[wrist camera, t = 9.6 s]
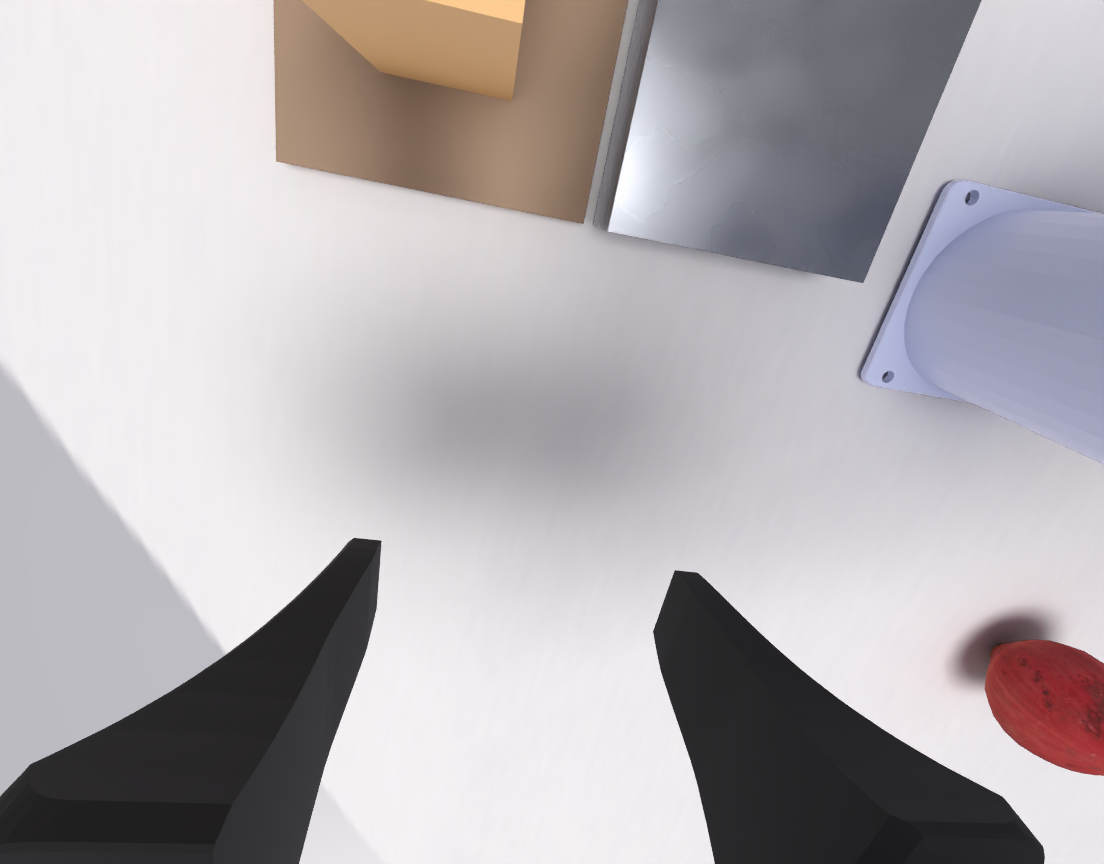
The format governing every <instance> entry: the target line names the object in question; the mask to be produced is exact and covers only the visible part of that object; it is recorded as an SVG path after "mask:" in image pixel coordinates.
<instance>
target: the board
mask: <svg viewBox="0 0 1104 864" xmlns="http://www.w3.org/2000/svg"><path fill="white" fill-rule="evenodd" d="M627 4H628V0H525V7H524V15H523V23H522V30H521V38H520V45H519V53H518V60H517V68H516V75H515V83H514V90H513V98H512V101H509V100H504V99H500V98H495V97H491V96H486V95H482V94H477V93H472V92H468V91H463V90H459V89H454V88H450V87H445V86H441V85H436V84H431V83H427V82H422V81H418V80H413V79H409V78H404V77H399V76H395V75H390V74H386V73H381V72H380V71H379V70H377V69H376V68H375V67H374V66H373V65H372V64H371V63H370V62H369V61H368V60H367V59H365V58H364V57H363V56H362V55H361V54H360V53H359V52H358V51H357V50H356V49H355V48H353V47H352V46H351V45H350V44H349V43H348V42H347V41H346V40H345V39H344V38H343V37H341V36H340V35H339V34H338V33H337V32H336V31H335V30H334V29H333V28H332V27H331V26H330V25H328V24H327V23H326V22H325V21H324V20H323V19H322V18H321V17H320V16H319V15H318V14H316V13H315V12H314V11H313V10H312V9H311V8H310V7H309V6H308V5H307V4H306V3H304V2H303V1H302V0H274V53H275V115H276V161H277V162H282V163H287V164H292V165H297V166H302V167H306V168H311V169H316V170H321V171H326V172H331V173H336V174H341V175H346V176H351V177H356V178H361V179H365V180H370V181H375V182H380V183H385V184H390V185H395V186H400V187H405V188H410V189H415V190H420V191H425V192H429V193H434V194H439V195H444V196H449V197H454V198H459V199H464V200H469V201H474V202H479V203H484V204H488V205H493V206H498V207H503V208H508V209H513V210H518V211H523V212H528V213H533V214H538V215H543V216H547V217H552V218H557V219H562V220H567V221H572V222H577V223H582V224H583V223H584V218H585V213H586V208H587V203H588V198H589V193H590V188H591V183H592V178H593V173H594V168H595V163H596V158H597V153H598V148H599V143H600V138H601V134H602V129H603V124H604V119H605V114H606V109H607V104H608V99H609V94H610V89H611V84H612V79H613V74H614V69H615V64H616V59H617V54H618V49H619V44H620V39H621V34H622V29H623V24H624V19H625V14H626V9H627Z"/></svg>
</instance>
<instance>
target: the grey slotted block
mask: <svg viewBox="0 0 1104 864" xmlns="http://www.w3.org/2000/svg"><path fill="white" fill-rule="evenodd" d="M980 2H981V0H640V1H639V5H638V10H637V15H636V20H635V25H634V29H633V34H632V39H631V44H630V49H629V53H628V58H627V63H626V68H625V73H624V77H623V82H622V87H621V92H620V97H619V101H618V106H617V111H616V116H615V121H614V125H613V130H612V135H611V140H610V145H609V149H608V154H607V159H606V164H605V169H604V173H603V178H602V183H601V188H600V193H599V197H598V202H597V207H596V212H595V217H594V221H593V225H595V226H597V227H599V228H601V229H604V230H606V231H608V232H613V233H618V234H623V235H628V236H633V237H638V238H643V239H648V240H653V241H658V242H663V243H668V244H673V245H678V246H683V247H687V248H692V249H697V250H702V251H707V252H712V253H717V254H722V255H727V256H732V257H737V258H742V259H747V260H752V261H757V262H762V263H766V264H771V265H776V266H781V267H786V268H791V269H796V270H801V271H806V272H811V273H816V274H821V275H826V276H831V277H836V278H841V279H846V280H850V281H855V282H860V283H863V282H864V280H865V277H866V275H867V273H868V270H869V268H870V265H871V263H872V261H873V258H874V256H875V253H876V251H877V249H878V246H879V244H880V242H881V239H882V237H883V234H884V232H885V230H886V227H887V225H888V222H889V220H890V218H891V215H892V213H893V210H894V208H895V206H896V203H897V201H898V199H899V196H900V194H901V191H902V189H903V187H904V184H905V182H906V179H907V177H908V175H909V172H910V170H911V167H912V165H913V163H914V160H915V158H916V155H917V153H918V151H919V148H920V146H921V144H922V141H923V139H924V136H925V134H926V132H927V129H928V127H929V124H930V122H931V120H932V117H933V115H934V112H935V110H936V108H937V105H938V103H939V101H940V98H941V96H942V93H943V91H944V89H945V86H946V84H947V81H948V79H949V77H950V74H951V72H952V69H953V67H954V65H955V62H956V60H957V57H958V55H959V53H960V50H961V48H962V46H963V43H964V41H965V38H966V36H967V34H968V31H969V29H970V26H971V24H972V22H973V19H974V17H975V14H976V12H977V10H978V7H979V5H980Z"/></svg>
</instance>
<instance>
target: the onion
mask: <svg viewBox="0 0 1104 864" xmlns="http://www.w3.org/2000/svg"><path fill="white" fill-rule="evenodd" d="M985 692H986V695H987V698H988V702H989V705H990V708H991V710H992V713H993V716H994V717H995V719H996V720H997V721H998V723H999V724H1000V726H1001V727H1002V729H1003V730H1004V731H1005V732H1006V733H1007V734H1008V735H1009V736H1010V737H1011V738H1012V739H1013V740H1014V741H1015V742H1017V743H1018V744H1019V745H1020V746H1022V747H1024V748H1025V749H1027V750H1028V751H1030V752H1031V753H1033V754H1035V755H1036V756H1038V757H1040V758H1042V759H1044V760H1046V761H1048V762H1050V763H1052V764H1055V765H1057V766H1059V767H1062V768H1065V769H1068V770H1071V771H1075V772H1079V773H1084V774H1091V775H1102V776H1104V663H1102V662H1100V661H1099V660H1097V659H1096V658H1094V657H1093V656H1091V655H1089V654H1088V653H1086V652H1085V651H1082V650H1079V649H1076V648H1073V647H1070V646H1067V645H1064V644H1060V643H1057V642H1053V641H1047V640H1025V641H1017V642H1010V643H1003V644H999V645H997V646H995V647H994V648H993V649H992V651H991V655H990V663H989V667H988V671H987V674H986V681H985Z"/></svg>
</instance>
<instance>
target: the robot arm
mask: <svg viewBox="0 0 1104 864" xmlns="http://www.w3.org/2000/svg"><path fill="white" fill-rule="evenodd" d="M969 192H970V193H971V196H970V200H969V201H968V202H967V203H966V202H965V198H966V195H967V194H968V193H969ZM887 371H888V375H887V376H886V378H884V379H882V376H883V374H884V373H885V372H887ZM861 379H862V380H863V382H865V383H867V384H868V385H871V386H876V387H881V388H887V389H893V390H899V391H905V392H911V393H917V394H923V395H929V396H935V397H941V398H947V399H952V400H958V401H964V402H970V403H973V404H975V405H977V406H979V407H982V408H984V409H986V410H988V411H990V412H992V413H994V414H997V415H999V416H1001V417H1003V418H1005V419H1007V420H1009V421H1012V422H1014V423H1016V424H1018V425H1020V426H1022V427H1024V428H1027V429H1029V430H1031V431H1033V432H1035V433H1037V434H1039V435H1042V436H1044V437H1046V438H1048V439H1050V440H1052V441H1054V442H1057V443H1059V444H1061V445H1063V446H1065V447H1067V448H1069V449H1072V450H1074V451H1076V452H1078V453H1080V454H1082V455H1084V456H1087V457H1089V458H1091V459H1093V460H1095V461H1097V462H1099V463H1102V464H1104V214H1103V213H1099V212H1095V211H1090V210H1086V209H1082V208H1078V207H1074V206H1070V205H1066V204H1062V203H1058V202H1054V201H1050V200H1046V199H1041V198H1037V197H1033V196H1029V195H1025V194H1021V193H1017V192H1013V191H1009V190H1005V189H1001V188H997V187H992V186H988V185H984V184H980V183H976V182H972V181H968V180H954V181H952V182H950V183H948V184H947V185H946V186H945V187H944V189H943V190H942V192H941V194H940V197H939V199H938V201H937V203H936V206H935V208H934V210H933V212H932V215H931V217H930V219H929V221H928V223H927V226H926V228H925V230H924V232H923V235H922V237H921V239H920V241H919V244H918V246H917V248H916V250H915V253H914V255H913V257H912V259H911V262H910V264H909V266H908V268H907V271H906V273H905V275H904V277H903V279H902V282H901V284H900V286H899V288H898V291H897V293H896V295H895V297H894V300H893V302H892V304H891V306H890V309H889V311H888V313H887V315H886V318H885V320H884V322H883V324H882V327H881V329H880V331H879V333H878V335H877V338H876V340H875V342H874V344H873V347H872V349H871V351H870V353H869V356H868V358H867V360H866V362H865V365H864V367H863V369H862V372H861ZM380 554H381V541H379V540H369V539H359V538H354V539H352V540H351V541H349V542H348V543H347V545H346V546H345V547H344V548H343V549H342V550H341V552H340V553H339V554H338V555H337V556H336V557H335V558H334V559H333V561H332V562H331V563H330V564H329V565H328V566H327V567H326V568H325V569H324V570H323V571H322V572H321V573H320V574H319V575H318V576H317V577H316V578H315V579H314V580H313V581H312V582H311V583H310V584H309V585H308V586H307V587H306V588H305V589H304V590H303V591H302V592H301V593H300V594H299V595H298V596H297V597H296V598H295V599H294V600H292V601H291V602H290V603H289V604H288V605H287V606H286V607H285V608H283V609H282V610H281V611H280V612H279V613H278V614H277V615H275V616H274V617H273V618H272V619H271V620H270V621H269V622H267V623H266V624H265V625H264V626H263V627H261V628H260V629H259V630H258V631H256V632H255V633H254V634H253V635H251V636H250V637H249V638H248V639H246V640H245V641H244V642H242V643H241V644H240V645H238V646H237V647H236V648H234V649H233V650H232V651H230V652H229V653H228V654H226V655H225V656H223V657H222V658H221V659H219V660H218V661H216V662H215V663H213V664H212V665H211V666H209V667H208V668H206V669H205V670H203V671H202V672H200V673H199V674H197V675H196V676H194V677H193V678H191V679H190V680H188V681H187V682H185V683H183V684H182V685H180V686H179V687H177V688H175V689H174V690H172V691H171V692H169V693H167V694H165V695H164V696H162V697H160V698H159V699H157V700H155V701H153V702H152V703H150V704H148V705H146V706H145V707H143V708H141V709H140V710H138V711H136V712H135V713H133V714H131V715H129V716H127V717H125V718H123V719H122V720H120V721H118V722H116V723H114V724H112V725H110V726H108V727H107V728H105V729H103V730H101V731H99V732H97V733H95V734H92V735H90V736H88V737H86V738H84V739H82V740H80V741H78V742H76V743H74V744H72V745H70V746H68V747H66V748H64V749H62V750H60V751H58V752H56V753H54V754H52V755H50V756H48V757H45V758H43V759H41V760H39V761H37V762H34V763H32V764H31V765H29V767H28V768H27V769H26V770H25V771H24V772H23V773H22V774H21V776H19V777H18V778H17V780H16V781H15V782H14V783H13V784H12V785H11V786H10V787H9V788H8V789H7V790H6V791H5V792H4V793H3V794H2V795H1V796H0V864H299V861H300V857H301V854H302V850H303V846H304V842H305V838H306V834H307V830H308V827H309V823H310V819H311V815H312V811H313V808H314V804H315V800H316V796H317V793H318V789H319V785H320V782H321V778H322V774H323V771H324V767H325V764H326V761H327V758H328V755H329V752H330V748H331V745H332V743H333V740H334V737H335V734H336V732H337V729H338V726H339V723H340V721H341V718H342V715H343V713H344V710H345V707H346V704H347V702H348V699H349V696H350V694H351V691H352V688H353V685H354V683H355V680H356V677H357V674H358V672H359V669H360V666H361V663H362V661H363V658H364V655H365V652H366V649H367V645H368V641H369V637H370V633H371V629H372V625H373V621H374V617H375V613H376V607H377V594H378V581H379V567H380ZM653 633H654V638H655V644H656V650H657V655H658V660H659V664H660V669H661V673H662V676H663V679H664V682H665V685H666V688H667V691H668V694H669V697H670V701H671V704H672V707H673V709H674V712H675V715H676V718H677V721H678V724H679V727H680V730H681V733H682V736H683V739H684V742H685V745H686V748H687V751H688V754H689V757H690V760H691V763H692V767H693V770H694V773H695V777H696V780H697V784H698V789H699V793H700V797H701V801H702V806H703V810H704V814H705V819H706V823H707V827H708V832H709V837H710V842H711V847H712V851H713V856H714V861H715V864H1044V859H1045V856H1044V849H1043V846H1042V845H1041V844H1040V842H1039V841H1038V840H1037V839H1036V837H1035V836H1034V835H1033V834H1032V832H1031V831H1030V830H1029V829H1028V827H1027V826H1026V825H1025V824H1024V822H1023V821H1022V820H1021V819H1020V817H1019V816H1018V815H1017V814H1016V813H1015V811H1014V810H1013V809H1012V808H1011V806H1010V805H1009V804H1008V803H1007V801H1006V800H1005V799H1004V798H1003V797H1002V796H1000V795H998V794H996V793H994V792H992V791H990V790H988V789H987V788H985V787H983V786H981V785H979V784H977V783H975V782H973V781H971V780H969V779H967V778H966V777H964V776H962V775H960V774H958V773H956V772H954V771H952V770H950V769H948V768H947V767H945V766H943V765H941V764H939V763H938V762H936V761H934V760H932V759H931V758H929V757H927V756H926V755H924V754H922V753H921V752H919V751H917V750H915V749H914V748H912V747H910V746H909V745H907V744H905V743H904V742H902V741H900V740H899V739H897V738H896V737H894V736H892V735H891V734H889V733H888V732H886V731H885V730H883V729H881V728H880V727H879V726H877V725H876V724H874V723H873V722H871V721H870V720H868V719H867V718H865V717H864V716H862V715H861V714H859V713H858V712H856V711H855V710H853V709H852V708H851V707H849V706H848V705H846V704H845V703H844V702H842V701H841V700H839V699H838V698H837V697H835V696H834V695H833V694H832V693H830V692H829V691H828V690H826V689H825V688H824V687H822V686H821V685H820V684H819V683H817V682H816V681H815V680H813V679H812V678H811V677H810V676H808V675H807V674H806V673H805V672H803V671H802V670H801V669H800V668H799V667H797V666H796V665H795V664H794V663H793V662H792V661H791V660H789V659H788V658H787V657H786V656H785V655H784V654H783V653H781V652H780V651H779V650H778V649H777V648H776V647H775V646H774V645H772V644H771V643H770V642H769V641H768V640H767V639H766V638H765V637H764V636H763V635H762V634H761V633H760V632H758V631H757V630H756V629H755V628H754V627H753V626H752V625H751V624H750V623H749V622H748V621H747V620H746V619H745V618H744V617H743V616H742V615H741V614H740V613H739V612H738V611H737V610H736V609H735V608H734V607H733V606H732V605H731V604H730V603H729V602H728V601H727V600H726V599H725V598H724V597H723V596H722V595H721V594H720V593H719V592H718V591H717V590H716V589H714V588H713V587H712V586H711V585H710V584H709V583H708V582H707V581H706V580H705V579H704V578H703V577H702V576H701V575H699V574H698V573H695V572H685V571H674V574H673V577H672V580H671V583H670V586H669V588H668V591H667V594H666V597H665V600H664V602H663V605H662V608H661V611H660V614H659V617H658V619H657V622H656V625H655V628H654V631H653Z"/></svg>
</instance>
